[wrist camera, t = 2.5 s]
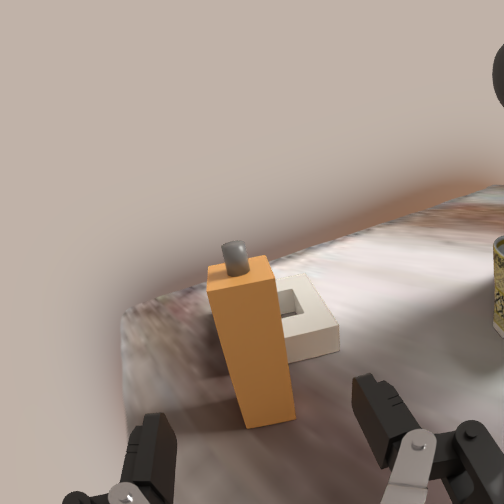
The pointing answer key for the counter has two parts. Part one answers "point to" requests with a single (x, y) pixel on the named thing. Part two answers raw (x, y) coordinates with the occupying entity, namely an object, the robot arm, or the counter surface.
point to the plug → (251, 335)
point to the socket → (306, 320)
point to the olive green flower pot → (499, 285)
